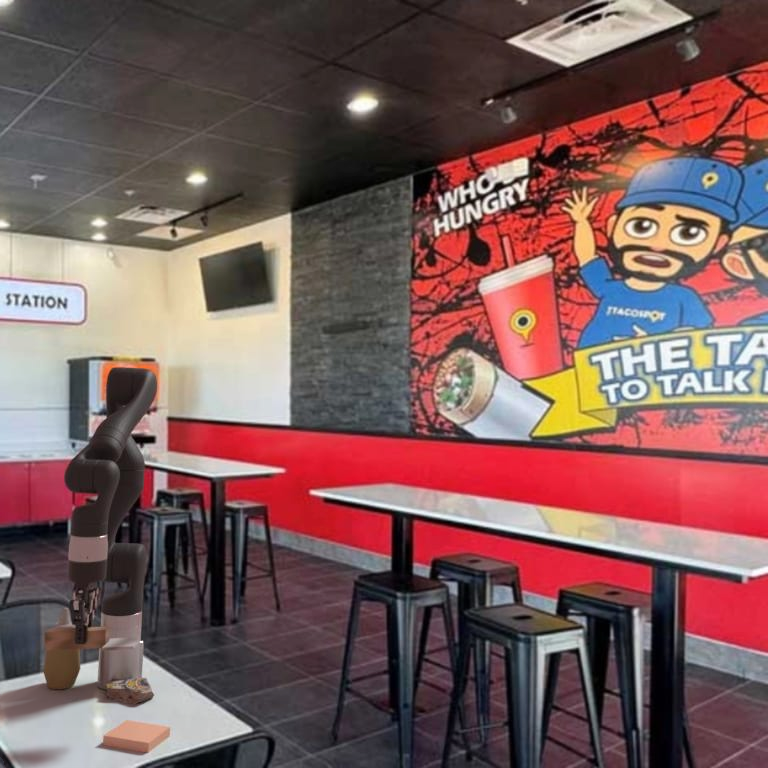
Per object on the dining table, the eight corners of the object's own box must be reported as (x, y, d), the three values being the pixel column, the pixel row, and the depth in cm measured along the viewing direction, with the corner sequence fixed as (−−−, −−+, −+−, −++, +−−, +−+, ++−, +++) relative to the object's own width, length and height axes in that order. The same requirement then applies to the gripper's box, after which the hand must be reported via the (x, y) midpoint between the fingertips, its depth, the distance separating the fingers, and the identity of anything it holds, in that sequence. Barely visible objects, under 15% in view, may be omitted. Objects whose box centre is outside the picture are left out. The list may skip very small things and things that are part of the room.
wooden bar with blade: (41, 653, 155) (41, 634, 155) (52, 643, 161) (52, 626, 161) (133, 649, 156) (133, 631, 156) (140, 640, 162) (140, 622, 162)
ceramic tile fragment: (96, 687, 173) (115, 672, 183) (95, 702, 173) (114, 686, 183) (148, 692, 172) (164, 677, 182) (147, 707, 172) (163, 691, 182)
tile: (103, 735, 152) (148, 743, 149) (126, 720, 159) (170, 726, 157) (102, 747, 152) (148, 754, 149) (126, 731, 159) (169, 738, 157)
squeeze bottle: (43, 681, 183) (47, 604, 184) (79, 678, 186) (84, 603, 187) (41, 693, 176) (45, 613, 176) (79, 690, 179) (83, 612, 179)
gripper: (97, 564, 152) (92, 652, 152) (115, 550, 166) (111, 631, 165) (57, 563, 151) (52, 652, 151) (79, 549, 165) (75, 631, 165)
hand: (83, 640), depth 158 cm, fingers closed on wooden bar with blade, 2 cm apart
